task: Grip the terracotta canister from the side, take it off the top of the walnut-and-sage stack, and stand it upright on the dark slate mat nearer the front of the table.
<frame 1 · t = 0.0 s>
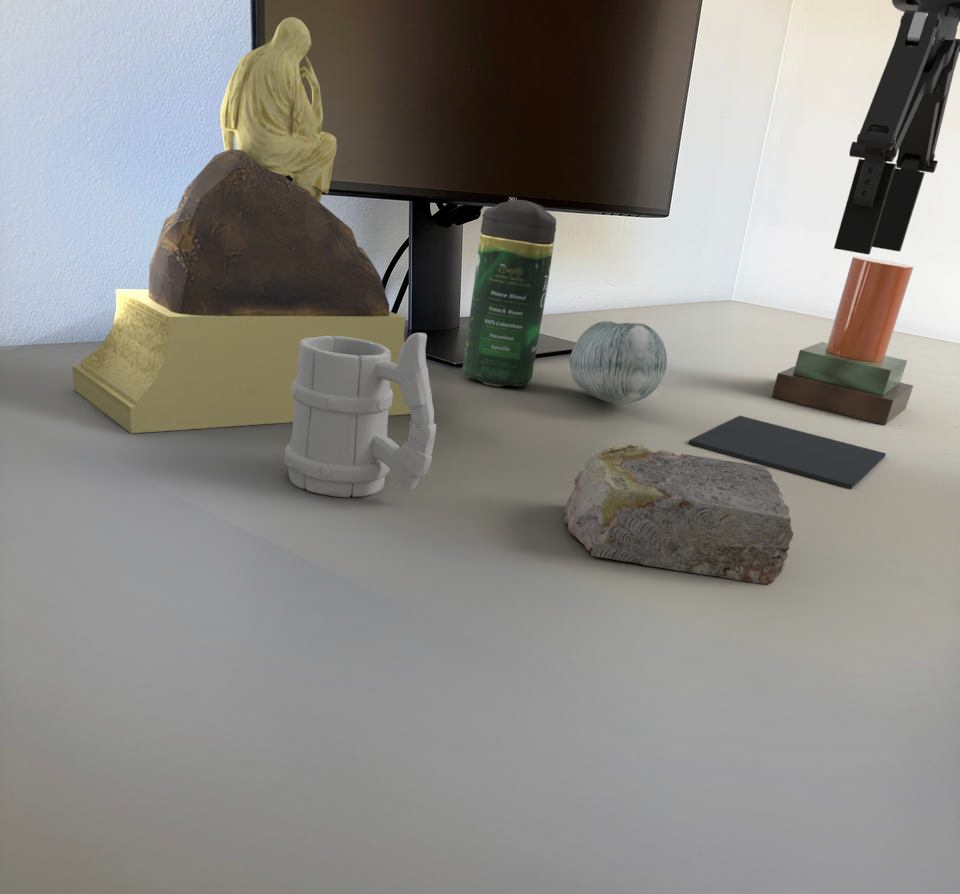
hand: (868, 250, 83), 20 cm above the table, tool pointing down, fingers open, 13 cm apart
hooded thinker statue: (257, 404, 88), on the table
stack: (839, 403, 124), on the table
mug: (358, 491, 71), on the table
grey streaked ovoid: (602, 324, 101), point 8 cm above the table
coffee jar: (497, 380, 110), on the table
mat: (789, 450, 98), on the table
canister: (854, 355, 121), point 6 cm above the table, touching stack
geological specimen: (667, 546, 70), on the table
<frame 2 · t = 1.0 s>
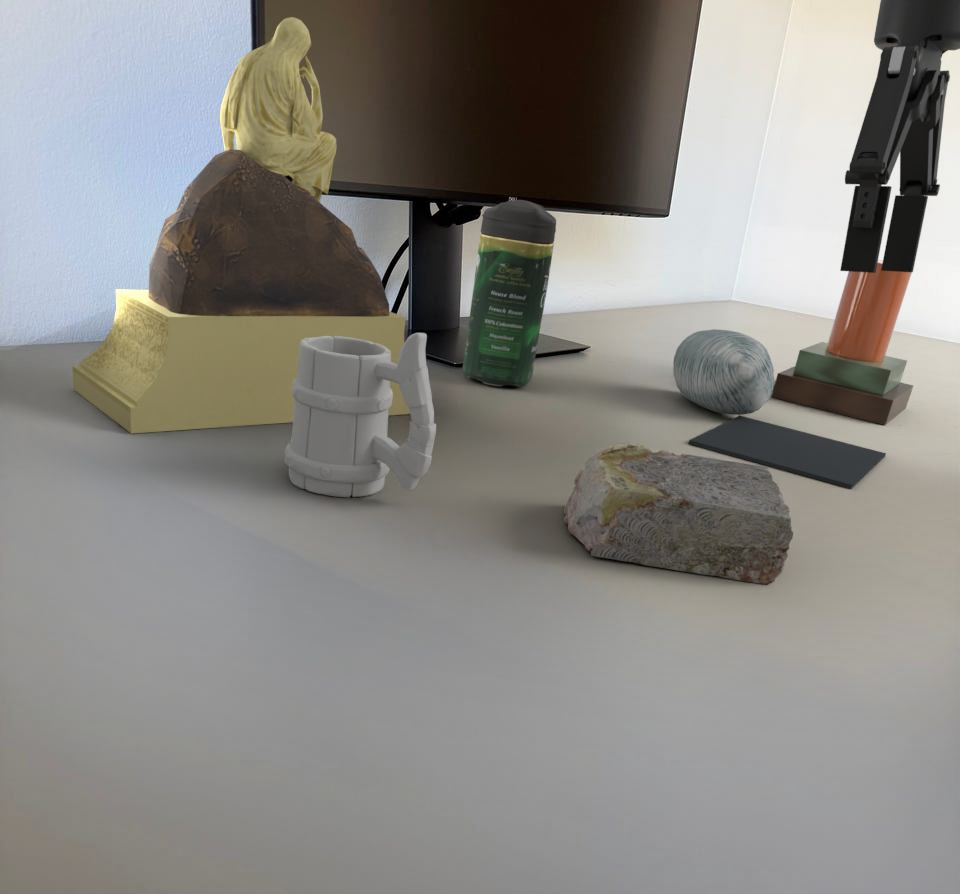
hand: (878, 272, 87), 18 cm above the table, tool pointing down, fingers open, 13 cm apart
grey streaked ovoid: (749, 386, 111), point 3 cm above the table, touching mat
everything else where it was.
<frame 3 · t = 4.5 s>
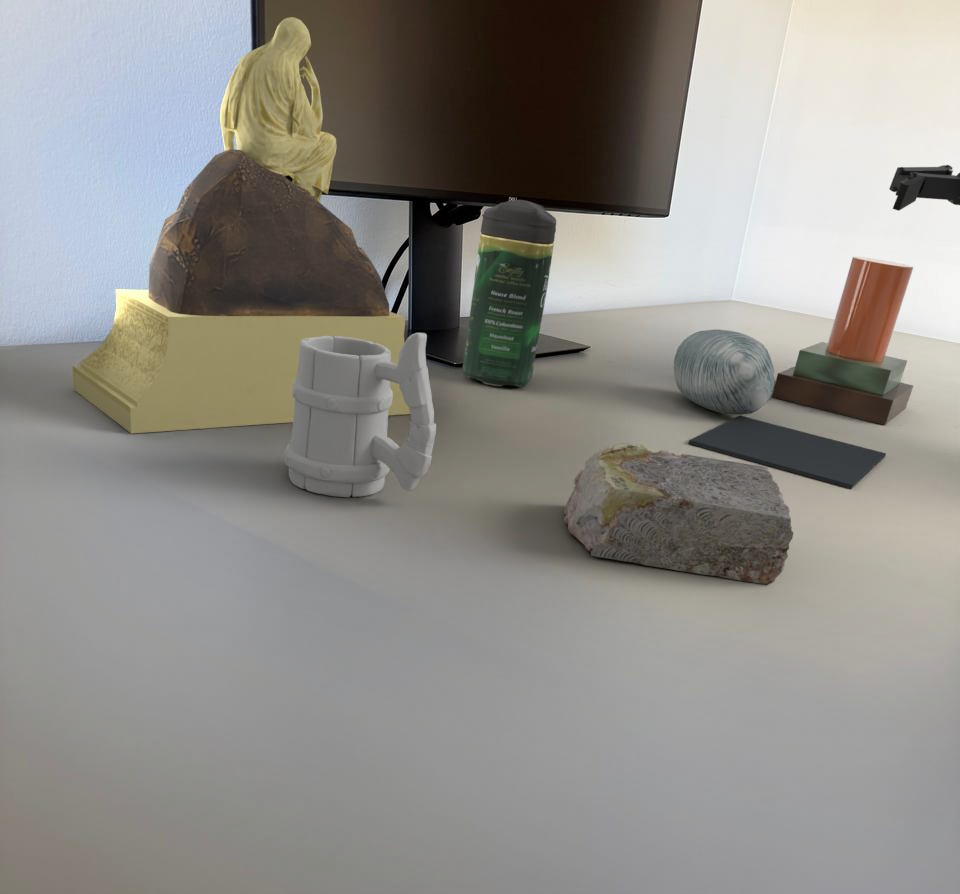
hand: (959, 215, 108), 23 cm above the table, tool horizontal, fingers open, 13 cm apart
nothing on the table moved.
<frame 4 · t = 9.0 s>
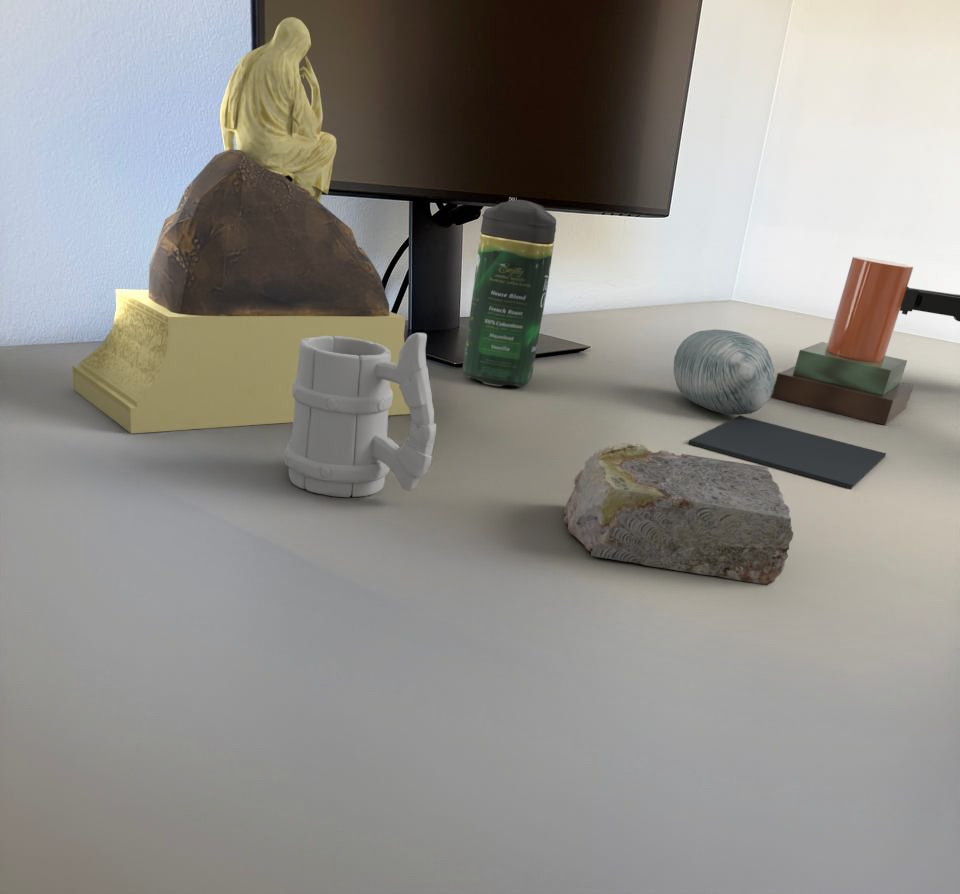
hand: (922, 308, 123), 12 cm above the table, tool horizontal, fingers open, 13 cm apart
nothing on the table moved.
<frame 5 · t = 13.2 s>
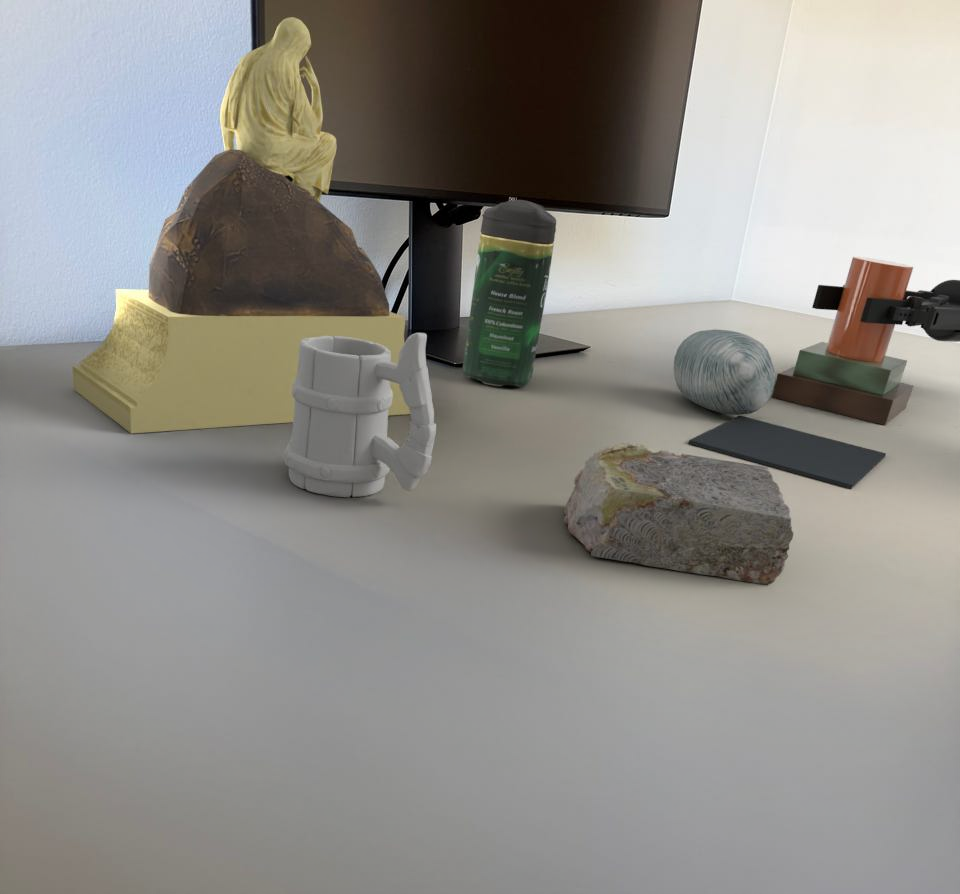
hand: (841, 303, 116), 12 cm above the table, tool horizontal, fingers closed on canister, 7 cm apart
canister: (854, 355, 121), point 6 cm above the table, touching gripper, stack
everything else where it was.
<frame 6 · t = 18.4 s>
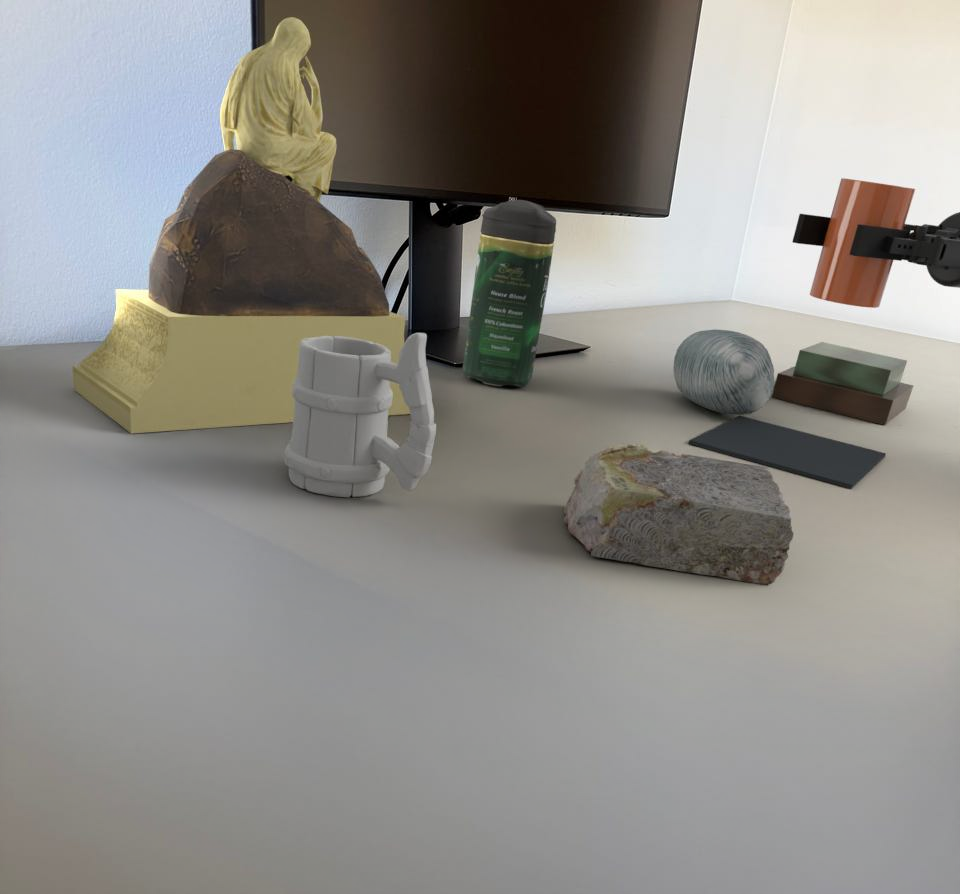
hand: (826, 234, 95), 20 cm above the table, tool horizontal, fingers closed on canister, 7 cm apart
canister: (843, 300, 100), point 14 cm above the table, touching gripper
everything else where it was.
when the fingers open (6 cm above the table, at t = 23.8 s): canister stays where it is, resting on mat.
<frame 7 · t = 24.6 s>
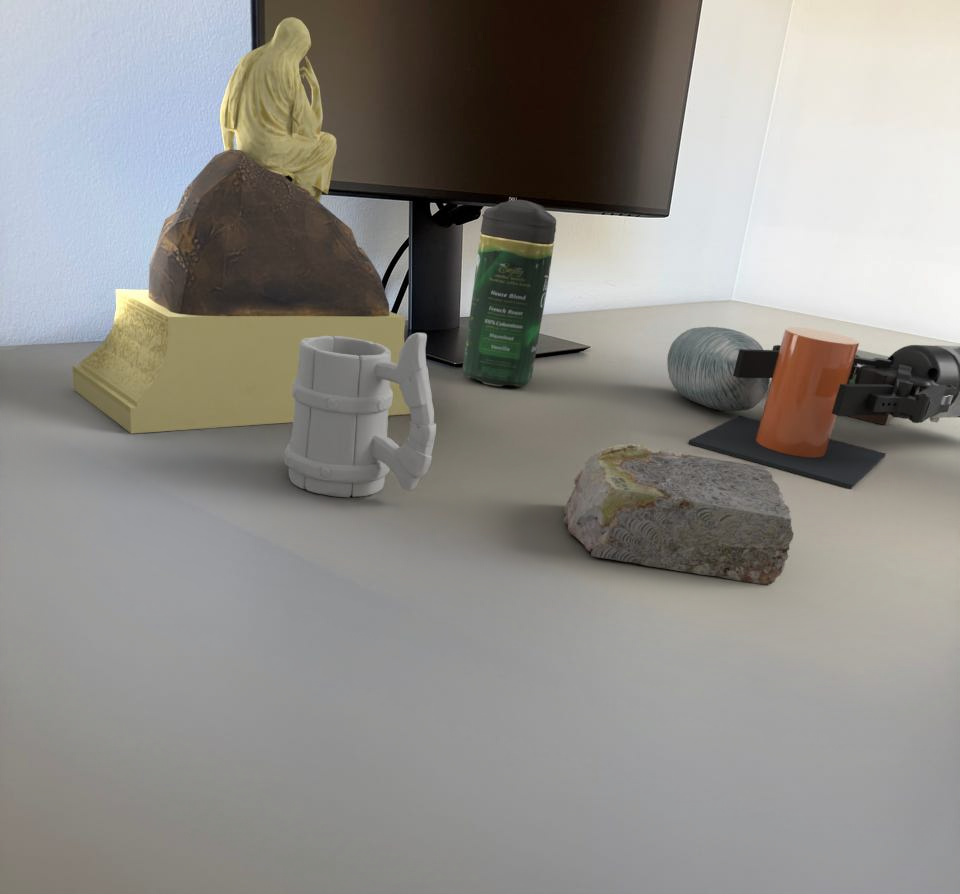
hand: (785, 380, 94), 7 cm above the table, tool horizontal, fingers open, 13 cm apart
grey streaked ovoid: (743, 383, 112), point 3 cm above the table
canister: (790, 446, 98), resting on mat
everything else where it was.
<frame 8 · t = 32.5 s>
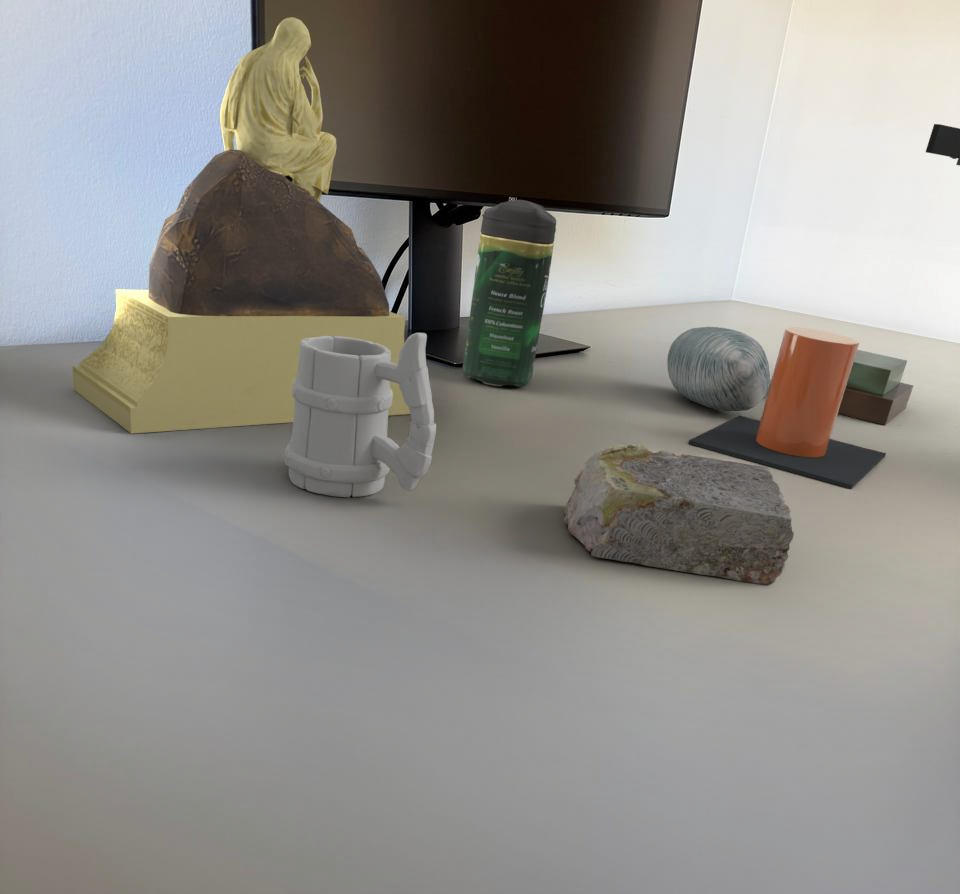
nothing on the table moved.
at the end: canister inside the target area on the mat (0.0 cm from its centre), point 0.4 cm above the mat's base; canister tilted 0°; canister touching mat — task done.
